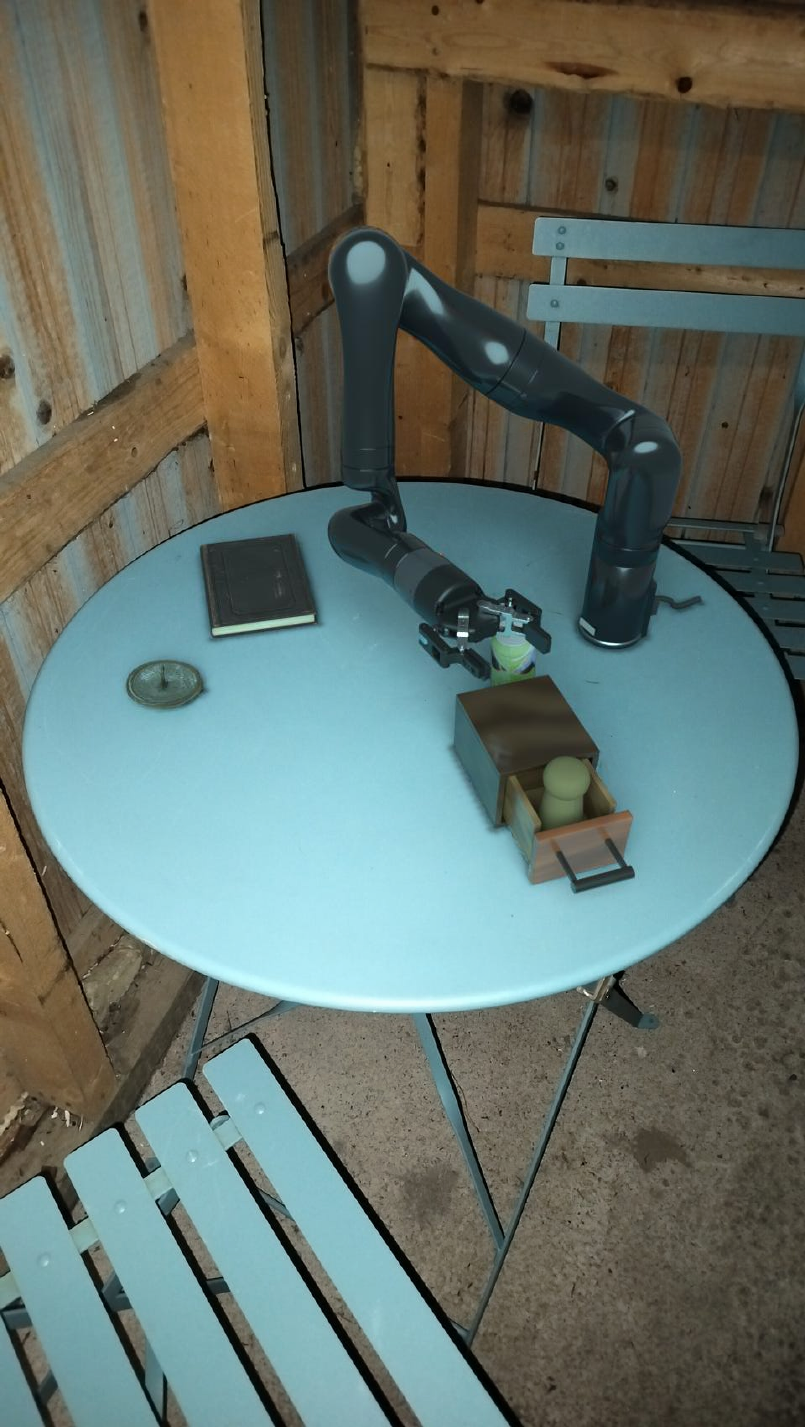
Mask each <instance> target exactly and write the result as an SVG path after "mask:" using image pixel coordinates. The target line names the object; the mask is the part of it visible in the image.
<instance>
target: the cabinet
mask: <svg viewBox="0 0 805 1427" xmlns="http://www.w3.org/2000/svg"><path fill="white" fill-rule="evenodd" d="M454 715H455V716H454V730H453V731H454V734H453V735H454V736H453V750H454V752H455V754H456V756H457V758H458V760H459V762H460V764H461V767H462V768H463V770H464V772H465V774H466V776H467V778H468V780H469V782H470V783H471V786H472V788H473V789H474V791H475V794H476V795H477V798H478V799H479V801H480V803H481V806H482V807H483V809H484V812H485V813H486V815H487V817H488V819H489V821H490V823H491V825H492V827H493V829H494V830H497V829H501V828H504V827H509V826H508V824H507V822H506V821H505V819H504V817H503V815H502V808H503V799H504V790H505V780H506V777H510V776H514V775H519V774H523V773H527V772H531V771H535V770H540V769H544V768H546V766H547V764H548V763H549V762H550V761H551V760H553V759H555V758H557V757H561V756H571V757H575V758H577V759H579V760H582V759H586V758H588V760H589V761H590V763H591V765H592V766H593V768H594V769H595V771H596V772H597V767H598V762H599V758H600V752H601V750H600V749H599V747H598V746H597V744H596V743H595V741H594V740H593V738H592V737H591V735H590V734H589V732H588V731H587V729H586V728H585V727H584V725H583V724H582V722H581V721H580V719H579V718H578V716H577V715H576V713H575V712H574V710H573V708H572V707H571V706H570V703H569V702H568V701H567V700H566V698H565V697H564V695H563V694H562V692H561V691H560V689H559V688H558V686H557V685H556V683H555V681H554V680H553V679H552V677H551V676H550V675H549V674H545V675H540V676H536V677H534V678H530V679H525V680H520V681H516V682H511V683H506V684H501V685H497V686H492V685H491V686H488V687H482V688H478V689H473V690H469V691H464V692H460V693H456V696H455V714H454Z"/></svg>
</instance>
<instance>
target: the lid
mask: <svg viewBox="0 0 805 1427" xmlns="http://www.w3.org/2000/svg"><path fill="white" fill-rule="evenodd" d="M203 685H204V682H203V679H202V676H201V674H200V672H199V671H198V669H196V667H194V666H193V665H191V664H189V663H185V662H183V661H177V660H168V659H167V660H166V659H164V660H163V659H162V660H161V659H160V660H154V661H150V662H146V663H143V664H141V665H138V666H137V667H136V668H134V669H133V670H132V671H131V672H130V673H129V674H128V677H127V678H126V682H125V690H126V693H127V696H128V697H129V698H130V699H131V700H132V701H134V702H135V703H137V704H138V705H141V706H143V707H147V708H150V709H160V710H167V709H175V708H180V707H183V706H185V705H187V704H189V703H191V702H192V701H194V700H195V699H196V698H198V696H199V695H200V694H201V693H202V692H203Z"/></svg>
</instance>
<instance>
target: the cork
mask: <svg viewBox="0 0 805 1427" xmlns="http://www.w3.org/2000/svg"><path fill="white" fill-rule="evenodd" d="M543 783H544V786H545V788H546V789H545V791H544V794H543V797H542V800H541V803H540V806H539V809H538V811H537V816H538V817H539V819H540V821H541V828H540V832H542V831H546V830H550V829H554V828H558V827H562V826H566V825H570V824H574V823H578V822H582V821H583V795H584V794H585V793H586V791H587V790H588V787H589V784H590V772H589V770H588V768H587V766H586V765H585V764H584V763H583V762H582V761H581V760H579V759H577V758H575V757H571V756H561V757H557V758H555V759H553V760H551V761H550V762H549V763H548V764H547V766H546V768H545V770H544V772H543Z"/></svg>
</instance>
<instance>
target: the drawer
mask: <svg viewBox="0 0 805 1427" xmlns="http://www.w3.org/2000/svg"><path fill="white" fill-rule="evenodd" d="M581 761H582V762H583V763H584V764H585V765H586V766H587V768H588V770H589V772H590V784H589V787H588V790H587V791H586V793H585V794H584V795H583V821H582V822H578V823H574V824H570V825H566V826H562V827H558V828H554V829H550V830H546V831H542V832H540V828H541V821H540V819H539V817H538V816H537V811H538V809H539V806H540V803H541V800H542V797H543V794H544V791H545V789H546V788H545V786H544V783H543V772H544V770H545V768H544V769H540V770H535V771H531V772H527V773H523V774H519V775H514V776H510V777H506V780H505V790H504V799H503V808H502V815H503V817H504V819H505V821H506V822H507V824H508V826H507V827H508V828H509V830H510V832H511V834H512V836H513V838H514V839H515V842H516V844H517V845H518V847H519V849H520V852H521V853H522V855H523V857H524V859H525V861H526V863H527V864H528V874H527V879H528V880H529V883H530V885H531V886H534V885H538V884H543V883H546V882H550V881H554V880H558V879H561V878H564V877H567V878H568V879H569V882H570V883H569V884H570V889H571V892H572V893H573V894H574V895H577V894H581V893H585V892H588V891H592V890H595V889H599V888H602V887H607V886H611V885H615V884H617V883H622V882H624V881H629V880H632V879H634V878H636V872H635V869H634V867H633V866H632V865H628V864H627V862H626V860H625V859H624V855H625V852H626V848H627V844H628V840H629V836H630V832H631V828H632V824H633V820H634V816H633V814H632V813H631V811H630V810H629V809H625V810H622V811H618V812H616V809H617V805H618V803H617V801H616V800H615V798H614V797H613V795H612V793H611V792H610V791H609V789H608V788H607V786H606V785H605V783H604V781H603V780H602V778H601V777H600V775H599V773H598V772H597V770H596V771H595V769H594V768H593V766H592V765H591V763H590V761H589V760H588V758H586V759H582V760H581ZM613 864H618V866H619V868H615V869H612V870H608V871H604V872H600V873H596V874H592V875H589V876H586V877H582V878H577V877H576V875H577V874H580V873H584V872H587V871H591V870H594V869H599V868H602V867H607V866H610V865H613Z"/></svg>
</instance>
